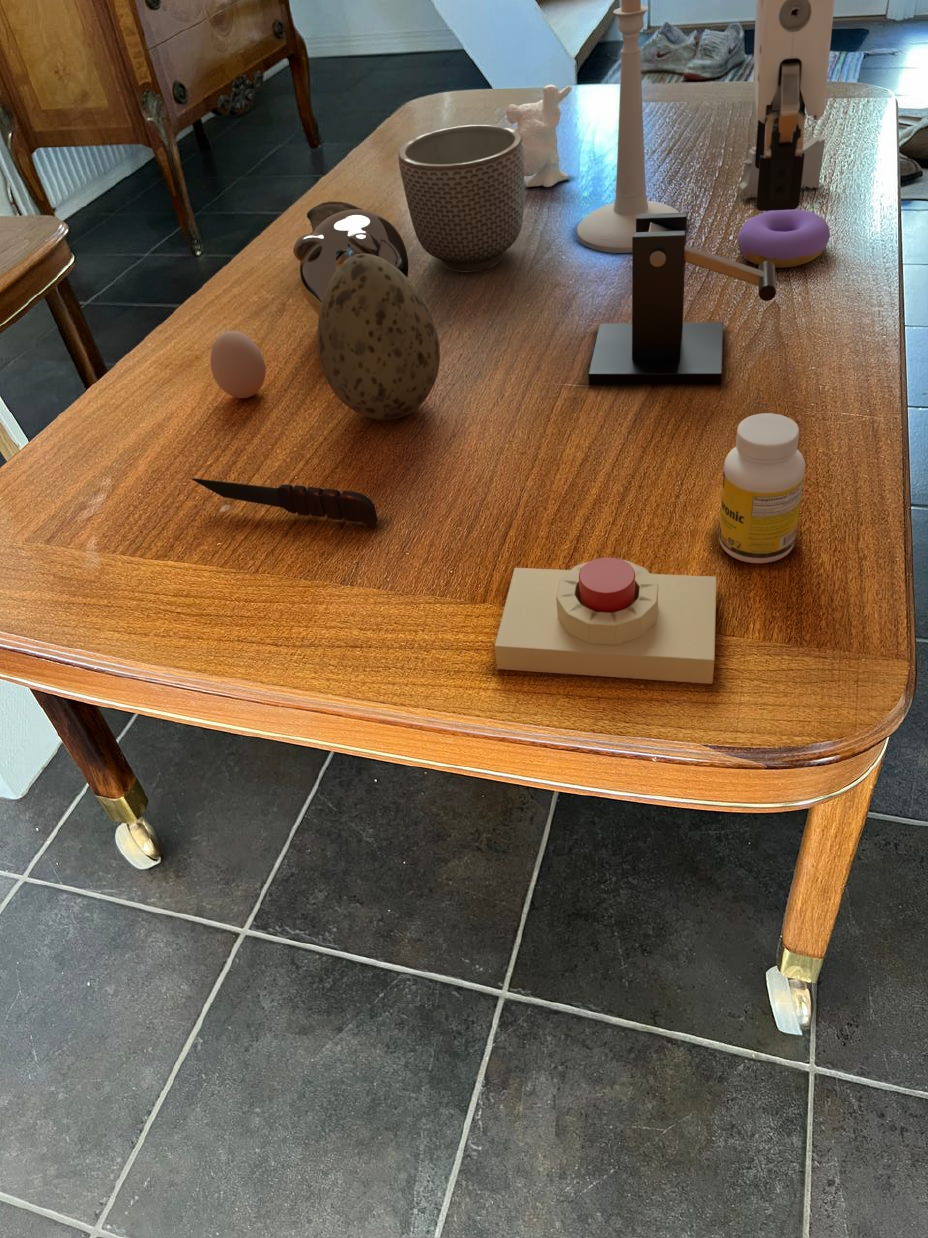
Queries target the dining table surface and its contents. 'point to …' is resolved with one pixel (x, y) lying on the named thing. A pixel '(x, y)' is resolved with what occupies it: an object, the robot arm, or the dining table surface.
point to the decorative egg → (377, 339)
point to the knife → (301, 500)
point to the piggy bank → (345, 248)
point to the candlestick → (625, 150)
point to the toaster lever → (731, 267)
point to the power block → (610, 627)
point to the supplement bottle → (762, 490)
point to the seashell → (327, 211)
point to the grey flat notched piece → (810, 168)
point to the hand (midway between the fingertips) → (775, 186)
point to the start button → (607, 584)
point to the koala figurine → (540, 136)
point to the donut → (783, 237)
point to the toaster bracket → (658, 319)
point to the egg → (237, 364)
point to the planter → (465, 192)
